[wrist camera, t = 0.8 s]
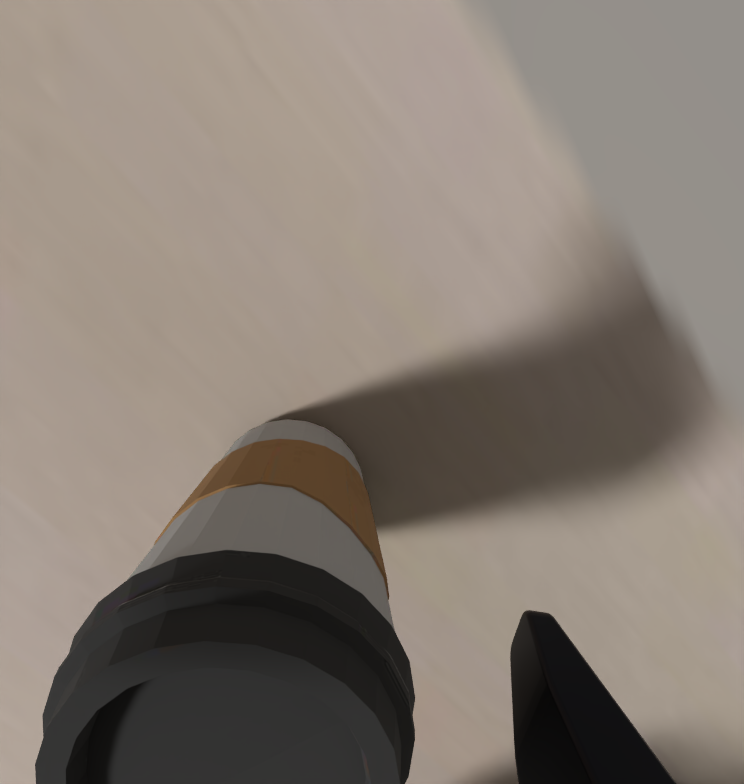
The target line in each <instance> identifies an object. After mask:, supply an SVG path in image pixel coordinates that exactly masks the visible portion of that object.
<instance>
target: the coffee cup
mask: <svg viewBox="0 0 744 784" xmlns="http://www.w3.org/2000/svg"><path fill="white" fill-rule="evenodd" d="M388 599H389V592H388V584H387V577H386V572H385V568H384V563H383V559H382V554H381V550H380V545H379V541H378V536H377V532H376V527H375V522H374V518H373V513H372V509H371V504H370V500H369V495H368V492H367V489H366V487H365V485H364V482H363V477H362V472H361V468H360V466H359V464H358V462H357V460H356V458H355V456H354V454H353V452H352V451H351V450H350V449H349V448H348V446H347V445H346V444H345V443H344V442H343V440H342V439H341V438H339V437H338V436H336V435H335V434H333V433H332V432H331V431H329V430H328V429H326V428H324V427H322V426H319V425H316V424H313V423H310V422H308V421H300V420H290V419H286V420H279V421H273V422H267V423H265V424H263V425H260V426H258V427H256V428H253V429H251V430H249V431H248V432H247V433H246V434H244V435H243V436H242V437H240V438H239V439H238V440H237V441H235V443H234V444H233V445H232V447H231V448H230V449H229V450H228V452H227V453H226V454H225V456H224V457H223V458H222V459H221V461H219V462H218V463H217V464H216V465H214V466H213V468H212V469H211V470H210V471H209V473H208V474H207V475H206V476H205V478H204V479H203V480H202V481H201V483H200V484H199V485H198V486H197V488H196V489H195V490H194V491H193V493H192V494H191V495H190V497H189V498H188V499H187V500H186V502H185V503H184V504H183V505H182V507H181V508H180V509H179V510H178V512H177V513H176V514H175V515H174V517H173V518H172V519H171V521H170V522H169V523H168V525H167V526H166V528H165V529H164V530H163V532H162V533H161V534H160V536H159V537H158V539H157V540H156V541H155V544H154V546H153V548H152V549H151V550H150V552H149V553H148V554H147V555H146V557H145V558H144V559H143V561H142V562H141V563H140V564H139V566H138V567H137V568H136V569H135V571H134V572H133V573H132V575H131V576H130V577H129V578H128V580H127V581H126V582H124V583H123V584H122V585H120V586H119V587H118V588H117V589H115V590H114V591H113V592H111V593H110V594H109V595H107V596H106V597H105V598H104V599H102V600H101V601H100V602H98V604H97V605H96V607H95V608H94V609H93V611H92V612H91V614H90V615H89V616H88V618H87V619H86V621H85V622H84V623H83V625H82V626H81V628H80V629H79V630H78V632H77V633H76V635H75V636H74V639H73V642H72V645H71V648H70V652H69V654H68V656H67V657H66V659H65V660H64V661H63V663H62V664H61V666H60V667H59V669H58V671H57V673H56V675H55V677H54V680H53V683H52V687H51V690H50V693H49V696H48V700H47V703H46V706H45V709H44V713H43V736H44V738H43V741H42V744H41V748H40V751H39V754H38V757H37V760H36V764H35V769H36V784H405V782H406V780H407V778H408V776H409V770H410V764H411V758H412V753H413V747H414V741H415V729H414V722H413V716H412V714H413V708H414V702H415V694H414V688H413V681H412V675H411V668H410V662H409V659H408V657H407V655H406V653H405V651H404V649H403V647H402V645H401V643H400V641H399V639H398V637H397V635H396V633H395V631H394V626H393V621H392V616H391V611H390V607H389V602H388Z"/></svg>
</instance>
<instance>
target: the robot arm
mask: <svg viewBox="0 0 744 784" xmlns="http://www.w3.org/2000/svg"><path fill="white" fill-rule="evenodd" d="M510 660H511V682H512V704H513V725H514V745H515V759H516V767H517V775H518V782H519V784H676V783H675V781H674V780H673V779H672V777H671V776H670V775H669V773H668V772H667V771H666V769H665V768H664V766H663V765H662V764H661V762H660V761H659V760H658V758H657V757H656V756H655V754H654V753H653V752H652V750H651V749H650V747H649V746H648V745H647V743H646V742H645V741H644V739H643V738H642V737H641V735H640V734H639V733H638V731H637V730H636V728H635V727H634V726H633V724H632V723H631V722H630V720H629V719H628V718H627V716H626V715H625V713H624V712H623V711H622V709H621V708H620V707H619V705H618V704H617V703H616V701H615V700H614V699H613V697H612V696H611V694H610V693H609V692H608V690H607V689H606V688H605V686H604V685H603V684H602V682H601V681H600V680H599V678H598V677H597V675H596V674H595V673H594V671H593V670H592V669H591V667H590V666H589V665H588V663H587V662H586V661H585V659H584V658H583V656H582V655H581V654H580V652H579V651H578V650H577V648H576V647H575V646H574V644H573V643H572V641H571V640H570V639H569V637H568V636H567V635H566V633H565V632H564V631H563V629H562V628H561V627H560V625H559V624H558V622H557V621H556V620H555V618H554V617H553V616H552V615H550V614H549V613H544V612H537V611H530V610H528V611H525V612H524V613H523V615H522V617H521V619H520V622H519V625H518V628H517V630H516V633H515V636H514V639H513V642H512V646H511V655H510Z"/></svg>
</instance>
